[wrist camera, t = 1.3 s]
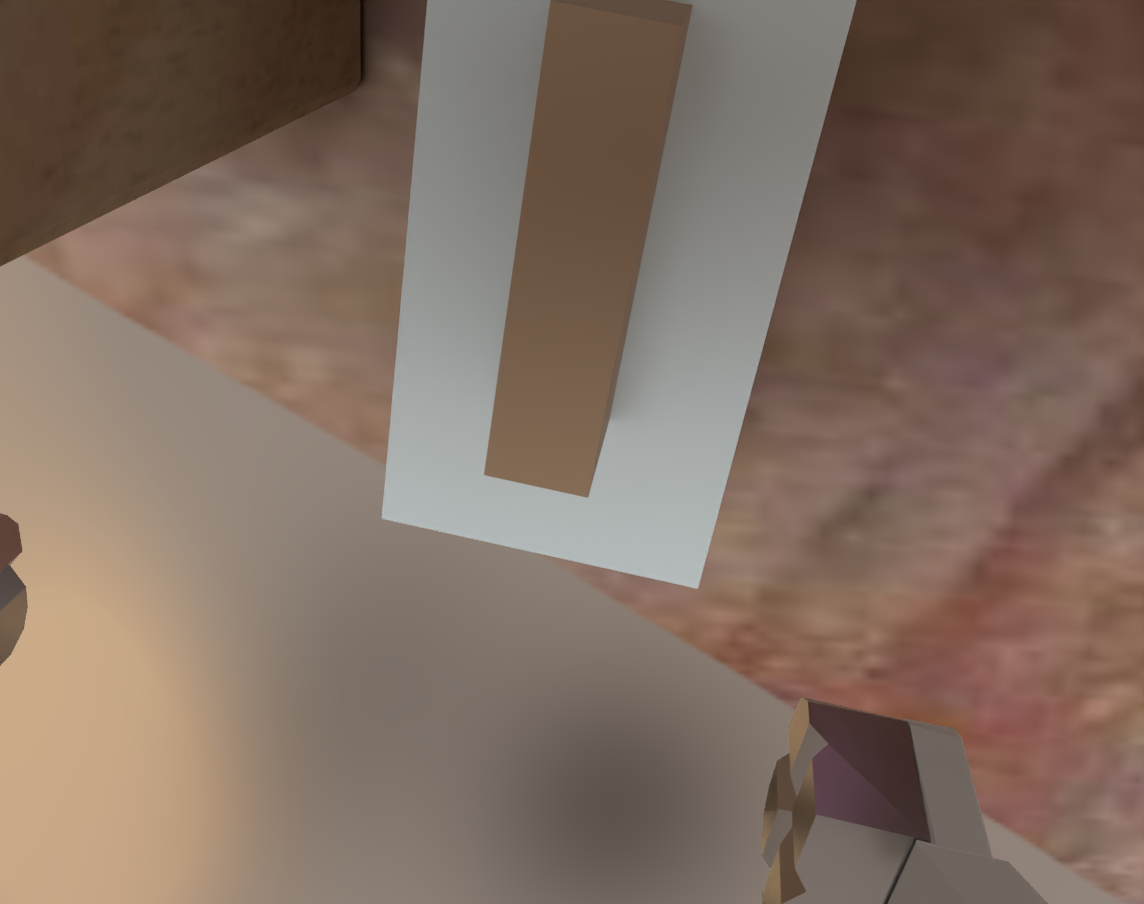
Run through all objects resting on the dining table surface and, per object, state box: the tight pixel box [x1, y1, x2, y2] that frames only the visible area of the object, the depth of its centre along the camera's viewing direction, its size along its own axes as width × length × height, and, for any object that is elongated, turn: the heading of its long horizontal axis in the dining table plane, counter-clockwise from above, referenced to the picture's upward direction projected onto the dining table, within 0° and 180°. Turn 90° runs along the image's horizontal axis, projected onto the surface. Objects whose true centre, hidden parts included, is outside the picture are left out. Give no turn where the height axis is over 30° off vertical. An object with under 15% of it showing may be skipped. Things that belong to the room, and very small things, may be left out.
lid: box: [382, 0, 857, 589], centre depth 24 cm, size 19×9×6 cm, turn 171°
